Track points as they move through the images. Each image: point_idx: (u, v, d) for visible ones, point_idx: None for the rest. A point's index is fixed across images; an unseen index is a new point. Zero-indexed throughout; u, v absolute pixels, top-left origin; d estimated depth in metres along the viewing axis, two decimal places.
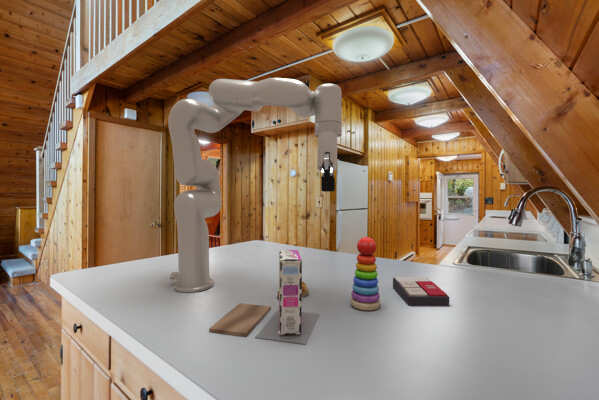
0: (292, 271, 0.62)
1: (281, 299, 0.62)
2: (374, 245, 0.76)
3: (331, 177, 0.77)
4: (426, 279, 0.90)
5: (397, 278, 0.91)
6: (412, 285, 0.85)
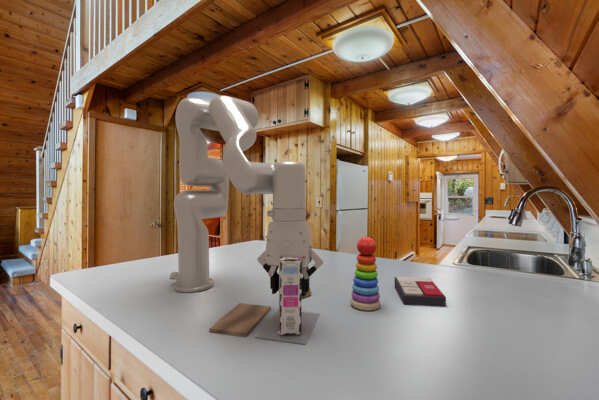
0: (291, 271, 0.62)
1: (281, 299, 0.62)
2: (374, 245, 0.76)
3: None
4: (428, 279, 0.90)
5: (398, 277, 0.92)
6: (411, 284, 0.85)
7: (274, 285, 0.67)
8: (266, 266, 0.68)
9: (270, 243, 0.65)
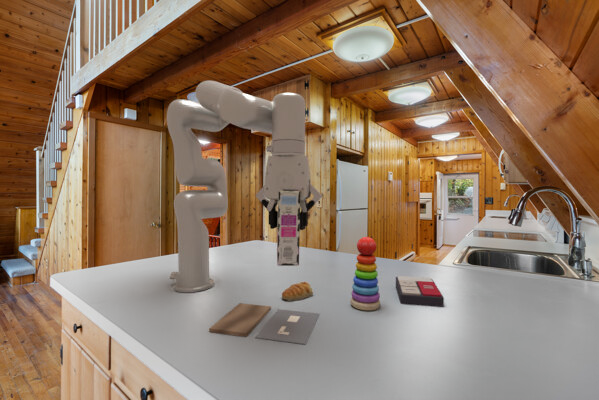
0: (290, 201, 0.61)
1: (279, 229, 0.62)
2: (374, 245, 0.76)
3: None
4: (429, 280, 0.90)
5: (399, 277, 0.92)
6: (410, 284, 0.86)
7: (272, 220, 0.67)
8: (265, 201, 0.67)
9: (269, 176, 0.65)
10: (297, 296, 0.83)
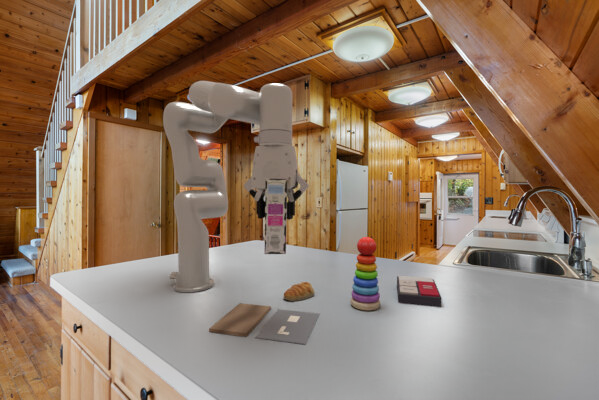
0: (277, 190, 0.62)
1: (266, 218, 0.62)
2: (374, 245, 0.76)
3: None
4: (430, 280, 0.89)
5: (400, 277, 0.93)
6: (409, 284, 0.86)
7: (260, 209, 0.67)
8: (252, 191, 0.68)
9: (256, 166, 0.66)
10: (299, 297, 0.82)
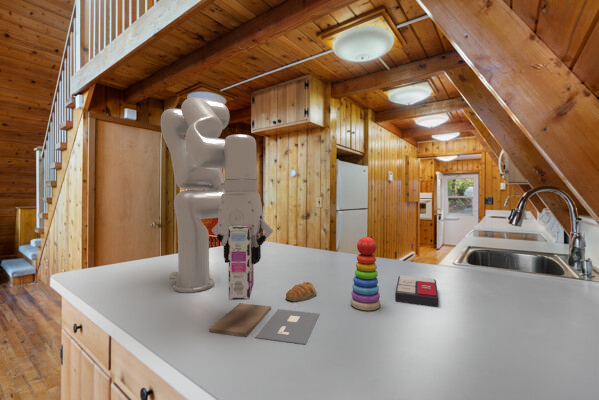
0: (239, 238, 0.65)
1: (229, 265, 0.64)
2: (374, 245, 0.76)
3: None
4: (431, 280, 0.89)
5: (401, 276, 0.93)
6: (408, 283, 0.86)
7: (227, 254, 0.70)
8: (220, 236, 0.70)
9: (222, 213, 0.68)
10: (301, 297, 0.82)
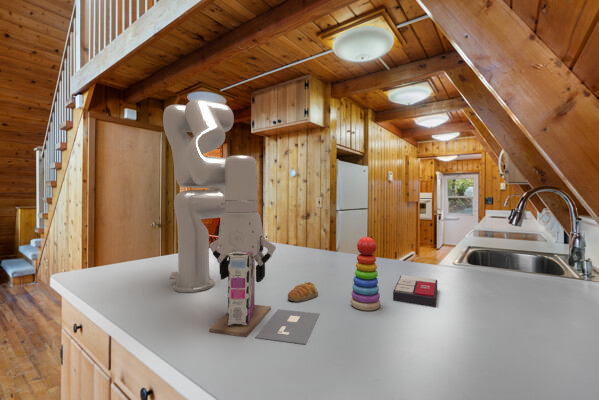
0: (239, 264, 0.65)
1: (229, 291, 0.65)
2: (374, 245, 0.76)
3: None
4: (432, 280, 0.89)
5: (402, 276, 0.93)
6: (408, 283, 0.87)
7: (222, 271, 0.70)
8: (216, 253, 0.71)
9: (222, 233, 0.68)
10: (304, 297, 0.82)
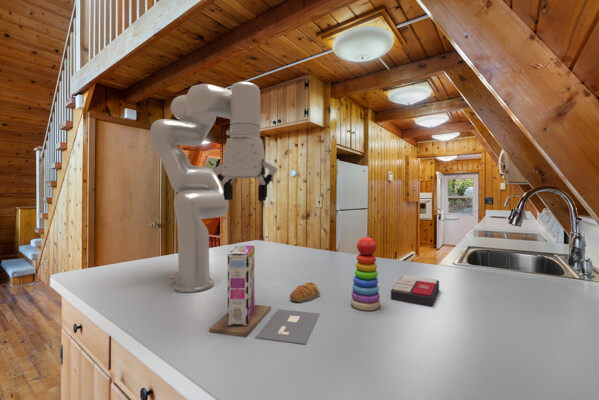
0: (238, 265, 0.65)
1: (228, 291, 0.65)
2: (374, 245, 0.76)
3: None
4: (433, 281, 0.88)
5: (404, 276, 0.94)
6: (407, 283, 0.87)
7: (226, 192, 0.75)
8: (220, 176, 0.76)
9: (227, 156, 0.73)
10: (306, 297, 0.82)
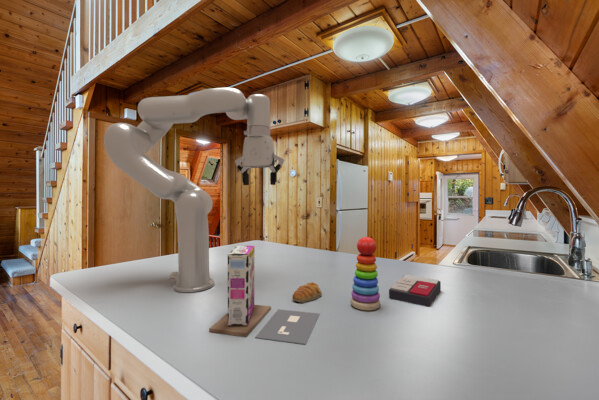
0: (238, 265, 0.65)
1: (228, 291, 0.65)
2: (374, 245, 0.76)
3: None
4: (434, 281, 0.88)
5: (405, 275, 0.94)
6: (407, 282, 0.87)
7: (244, 178, 0.97)
8: (239, 166, 0.98)
9: (245, 151, 0.95)
10: (309, 298, 0.82)
